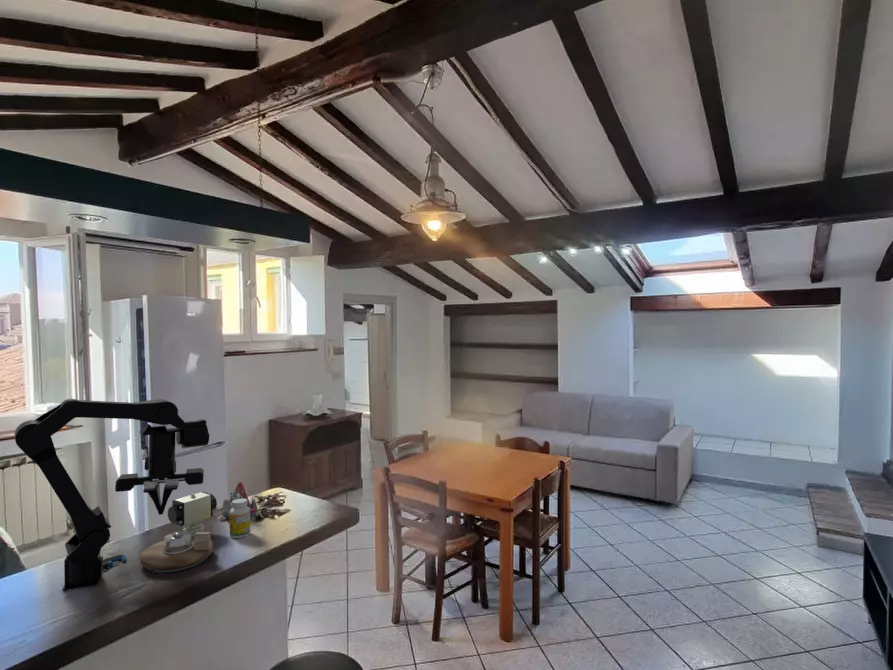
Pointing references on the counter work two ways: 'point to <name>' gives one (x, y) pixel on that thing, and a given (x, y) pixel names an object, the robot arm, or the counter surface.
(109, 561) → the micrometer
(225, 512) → the brake caliper
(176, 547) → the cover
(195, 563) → the turntable base
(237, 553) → the counter surface
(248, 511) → the supplement bottle
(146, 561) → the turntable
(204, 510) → the pneumatic valve
